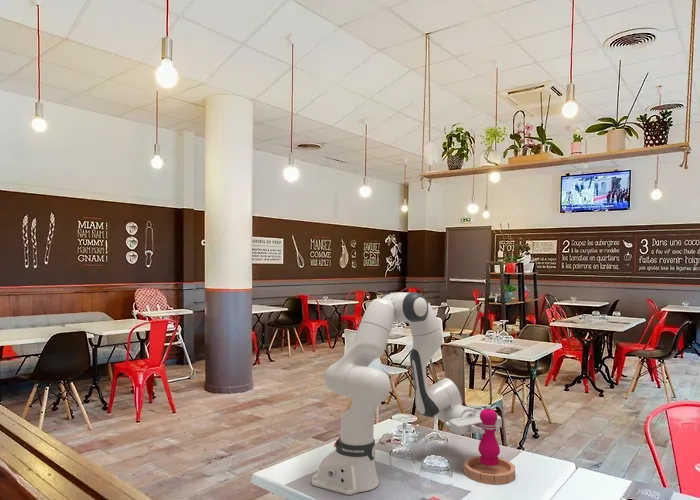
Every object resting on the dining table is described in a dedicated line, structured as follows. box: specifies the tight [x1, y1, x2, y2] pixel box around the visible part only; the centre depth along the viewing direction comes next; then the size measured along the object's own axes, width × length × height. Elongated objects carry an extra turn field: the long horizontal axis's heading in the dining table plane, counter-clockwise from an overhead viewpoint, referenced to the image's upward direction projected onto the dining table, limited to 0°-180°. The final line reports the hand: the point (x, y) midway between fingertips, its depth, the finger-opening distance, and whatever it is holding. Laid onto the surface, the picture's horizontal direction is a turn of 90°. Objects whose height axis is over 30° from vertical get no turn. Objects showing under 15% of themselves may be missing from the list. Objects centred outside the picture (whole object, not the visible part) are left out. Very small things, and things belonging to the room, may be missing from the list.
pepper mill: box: [478, 404, 501, 466], centre depth 171 cm, size 7×7×20 cm
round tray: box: [463, 455, 516, 485], centre depth 170 cm, size 17×17×3 cm
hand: (490, 430), depth 170 cm, fingers closed on pepper mill, 5 cm apart
